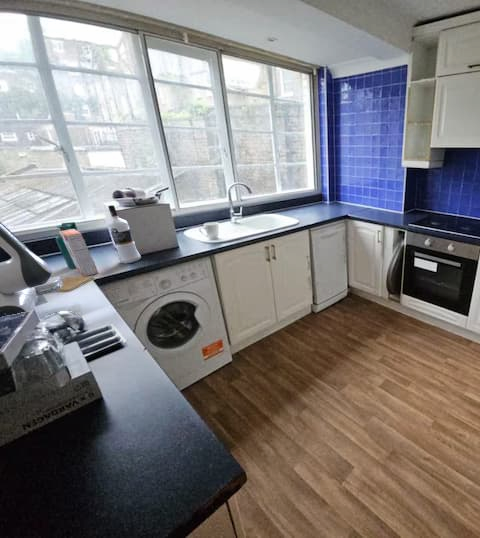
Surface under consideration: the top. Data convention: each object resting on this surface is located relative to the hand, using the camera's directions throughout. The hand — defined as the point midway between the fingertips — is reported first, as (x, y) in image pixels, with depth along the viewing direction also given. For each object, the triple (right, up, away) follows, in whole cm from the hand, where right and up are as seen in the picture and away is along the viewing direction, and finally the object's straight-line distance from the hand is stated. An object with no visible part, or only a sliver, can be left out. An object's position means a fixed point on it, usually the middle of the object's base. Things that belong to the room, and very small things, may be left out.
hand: (25, 283), depth 107 cm
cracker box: (-13, +4, +39) cm, 41 cm away
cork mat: (-10, -2, +25) cm, 27 cm away
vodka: (-2, +10, +52) cm, 53 cm away
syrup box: (+1, -8, +3) cm, 8 cm away
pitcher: (-26, +7, +49) cm, 55 cm away
